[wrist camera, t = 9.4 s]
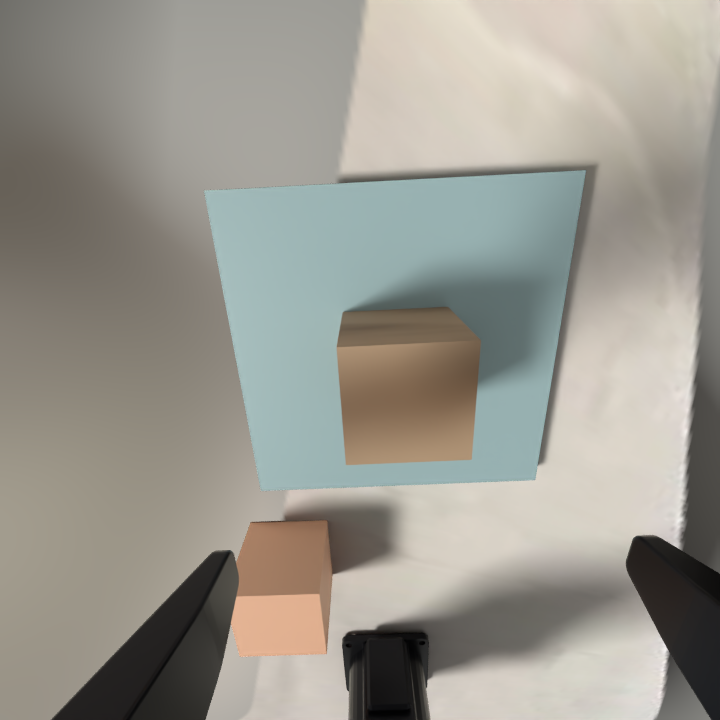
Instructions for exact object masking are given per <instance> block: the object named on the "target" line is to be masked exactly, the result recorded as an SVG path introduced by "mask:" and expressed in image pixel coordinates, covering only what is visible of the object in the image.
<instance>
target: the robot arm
mask: <svg viewBox="0 0 720 720" xmlns="http://www.w3.org/2000/svg"><path fill="white" fill-rule="evenodd" d="M626 568H627V571H628V574H629V576H630V578H631V580H632V582H633V584H634V586H635V588H636V590H637V591H638V593H639V595H640V597H641V599H642V601H643V603H644V605H645V607H646V609H647V611H648V613H649V615H650V616H651V618H652V620H653V622H654V624H655V626H656V628H657V630H658V632H659V634H660V636H661V638H662V639H663V641H664V643H665V645H666V647H667V648H668V650H669V652H670V654H671V655H672V657H673V659H674V660H675V662H676V664H677V665H678V667H679V669H680V670H681V672H682V673H683V675H684V677H685V678H686V680H687V682H688V683H689V685H690V686H691V688H692V689H693V691H694V693H695V694H696V696H697V698H698V699H699V701H700V702H701V704H702V705H703V707H704V709H705V710H706V712H707V714H708V715H709V717H710V718H711V720H720V574H719V573H718V572H716V571H714V570H713V569H711V568H709V567H708V566H706V565H704V564H703V563H701V562H699V561H698V560H696V559H694V558H693V557H691V556H689V555H688V554H686V553H685V552H683V551H681V550H680V549H678V548H676V547H675V546H673V545H671V544H670V543H668V542H666V541H665V540H663V539H661V538H659V537H657V536H654V535H643V536H636V537H634V538H633V540H632V543H631V546H630V550H629V553H628V556H627V559H626ZM238 586H239V573H238V569H237V565H236V561H235V557H234V554H233V552H232V551H231V550H218V551H214V552H212V553H211V554H210V555H209V556H208V557H207V558H206V559H205V560H204V561H203V562H202V563H201V564H200V565H199V567H197V569H196V570H195V571H194V572H193V573H192V574H191V575H190V576H189V577H188V578H187V579H186V580H185V581H184V582H183V583H182V584H181V585H180V586H179V587H178V589H176V590H175V591H174V592H173V593H172V594H171V596H170V597H169V598H168V599H167V600H166V601H165V602H164V603H163V604H162V605H161V606H160V607H159V608H158V609H157V610H156V611H155V612H154V613H153V614H152V615H151V616H150V617H149V618H148V619H147V620H146V621H145V623H144V624H143V625H142V626H141V627H140V628H139V629H138V630H137V631H136V632H135V633H134V634H133V635H132V636H131V637H130V638H129V639H128V640H127V642H125V643H124V644H123V645H122V646H121V648H119V650H118V651H117V652H116V653H115V654H114V655H113V656H112V657H111V658H110V659H109V660H108V661H107V662H106V663H105V664H104V665H103V666H102V667H101V668H100V669H99V670H98V672H97V673H95V674H94V676H93V677H92V678H91V679H90V680H89V681H88V682H87V683H86V684H85V685H84V686H83V687H82V688H81V689H80V690H79V691H78V692H77V693H76V694H75V695H74V696H73V697H72V698H71V699H70V700H69V701H68V702H67V704H66V705H65V706H64V707H63V708H62V709H61V710H60V711H59V712H58V713H57V714H56V715H55V716H54V717H53V718H52V720H205V719H206V716H207V713H208V710H209V706H210V703H211V700H212V697H213V693H214V690H215V687H216V684H217V680H218V677H219V673H220V670H221V666H222V661H223V658H224V653H225V648H226V644H227V639H228V634H229V629H230V625H231V620H232V615H233V610H234V606H235V601H236V596H237V591H238ZM342 648H343V658H344V667H345V677H346V686H347V690H348V691H349V720H430V713H429V706H428V699H427V692H426V688H427V676H428V648H429V642H428V636H427V635H426V634H424V633H409V634H378V635H348V636H345V637H343V640H342Z"/></svg>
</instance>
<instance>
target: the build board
mask: <svg viewBox="0 0 720 720" xmlns="http://www.w3.org/2000/svg"><path fill="white" fill-rule="evenodd" d="M585 174H586V170H580V171H562V172H543V173H524V174H506V175H487V176H468V177H450V178H431V179H412V180H394V181H375V182H356V183H338V184H320V185H302V186H301V185H300V186H283V187H263V188H244V189H226V190H208V191H204V193H205V198H206V203H207V209H208V214H209V219H210V224H211V230H212V235H213V240H214V246H215V251H216V256H217V261H218V267H219V272H220V277H221V282H222V287H223V293H224V298H225V304H226V309H227V314H228V320H229V324H230V330H231V335H232V340H233V346H234V351H235V356H236V362H237V367H238V372H239V377H240V382H241V388H242V393H243V399H244V404H245V409H246V415H247V420H248V425H249V430H250V436H251V441H252V446H253V451H254V456H255V462H256V467H257V472H258V478H259V483H260V488H261V491H270V490H296V489H321V488H346V487H372V486H397V485H423V484H448V483H473V482H499V481H524V480H535V478H536V472H537V466H538V460H539V454H540V448H541V442H542V435H543V429H544V423H545V417H546V411H547V405H548V399H549V393H550V387H551V381H552V375H553V369H554V362H555V356H556V350H557V344H558V338H559V332H560V326H561V320H562V314H563V308H564V302H565V296H566V290H567V283H568V277H569V271H570V265H571V259H572V253H573V247H574V241H575V235H576V229H577V223H578V217H579V210H580V204H581V198H582V192H583V186H584V180H585ZM432 307H449V308H450V309H451V310H452V311H453V312H454V313H455V314H456V315H457V316H458V317H459V318H460V319H461V320H462V321H463V323H464V324H465V325H466V326H467V327H468V328H469V329H470V330H471V331H472V332H473V333H474V334H475V335H476V336H477V337H478V338H479V339H480V340H481V347H480V360H479V373H478V386H477V399H476V412H475V424H474V437H473V450H472V460H456V461H433V462H409V463H386V464H363V465H346V460H345V448H344V435H343V423H342V410H341V398H340V385H339V373H338V360H337V348H336V347H337V341H338V336H339V330H340V324H341V319H342V313H343V312H352V311H372V310H392V309H412V308H432Z"/></svg>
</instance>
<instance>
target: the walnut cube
mask: <svg viewBox="0 0 720 720" xmlns="http://www.w3.org/2000/svg"><path fill="white" fill-rule="evenodd" d="M480 347H481V340H480V339H479V338H478V337H477V336H476V335H475V334H474V333H473V332H472V331H471V330H470V329H469V328H468V327H467V326H466V325H465V324H464V323H463V321H462V320H461V319H460V318H459V317H458V316H457V315H456V314H455V313H454V312H453V311H452V310H451V309H450V308H449V307H432V308H412V309H392V310H372V311H352V312H343V313H342V319H341V324H340V330H339V336H338V341H337V347H336V348H337V360H338V373H339V385H340V398H341V410H342V423H343V435H344V448H345V460H346V465H363V464H386V463H409V462H433V461H456V460H472V450H473V437H474V424H475V412H476V399H477V386H478V373H479V360H480Z"/></svg>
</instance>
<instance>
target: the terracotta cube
mask: <svg viewBox="0 0 720 720" xmlns="http://www.w3.org/2000/svg"><path fill="white" fill-rule="evenodd" d="M236 565H237V569H238V573H239V586H238V591H237V596H236V601H235V606H234V610H233V615H232V620H231V625H232V628H233V632H234V636H235V640H236V644H237V647H238V651H239V655H240V657H243V656H276V655H308V654H327V643H328V629H329V615H330V602H331V588H332V565H331V555H330V545H329V535H328V525H327V520H318V521H288V522H282V521H261V522H251V523H250V526H249V528H248V531H247V534H246V537H245V540H244V542H243V545H242V548H241V551H240V554H239V556H238V559H237V562H236Z"/></svg>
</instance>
